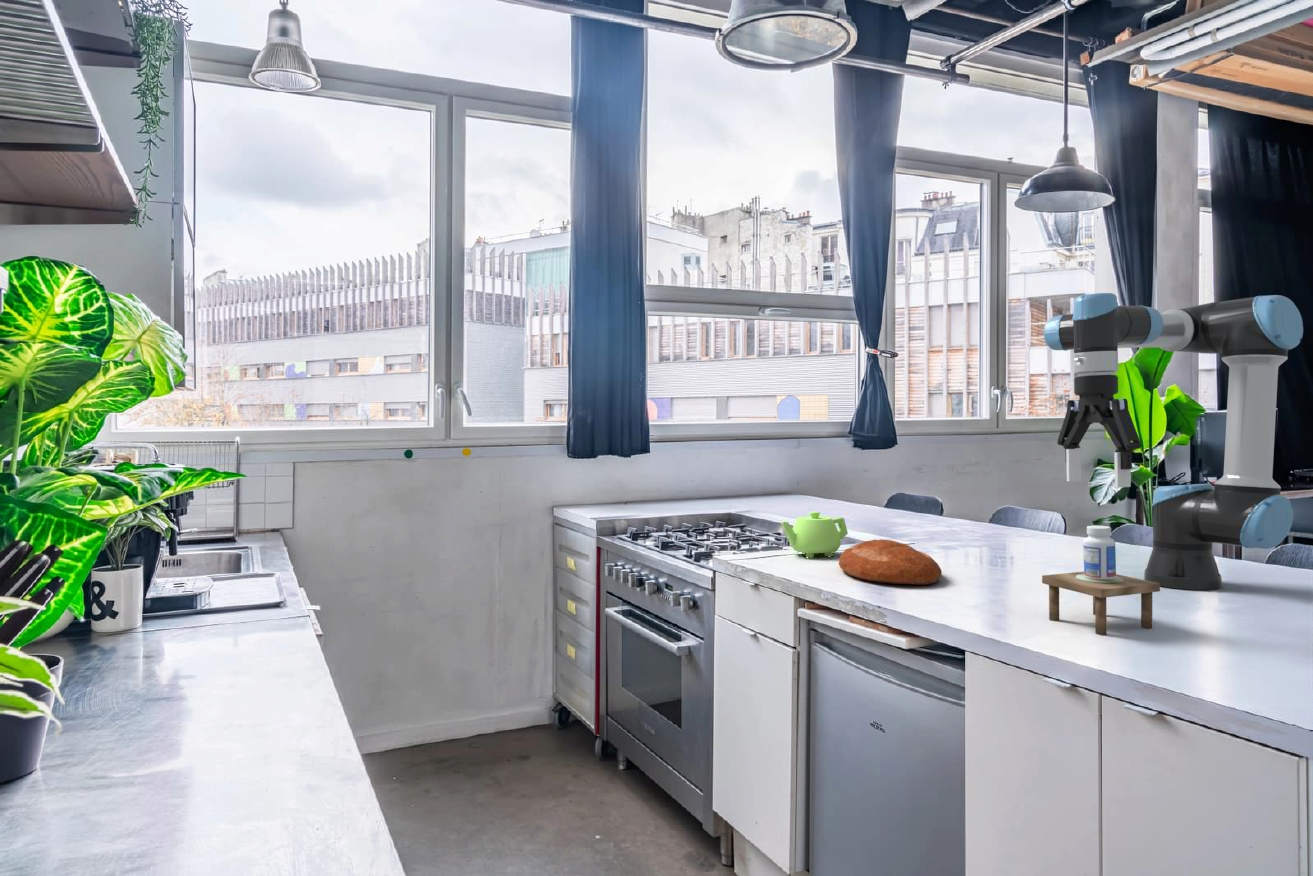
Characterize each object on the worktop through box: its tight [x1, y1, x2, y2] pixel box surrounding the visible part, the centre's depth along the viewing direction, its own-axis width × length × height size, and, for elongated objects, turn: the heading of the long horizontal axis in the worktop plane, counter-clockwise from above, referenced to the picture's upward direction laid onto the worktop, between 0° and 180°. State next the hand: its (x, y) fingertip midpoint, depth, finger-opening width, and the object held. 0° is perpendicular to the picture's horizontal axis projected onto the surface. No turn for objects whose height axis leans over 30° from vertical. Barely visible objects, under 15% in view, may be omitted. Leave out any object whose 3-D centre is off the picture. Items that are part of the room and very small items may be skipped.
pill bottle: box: [1082, 525, 1117, 580], centre depth 156 cm, size 6×5×10 cm
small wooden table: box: [1041, 571, 1161, 636], centre depth 156 cm, size 14×14×9 cm
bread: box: [838, 538, 942, 586], centre depth 206 cm, size 23×32×9 cm
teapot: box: [781, 511, 849, 559], centre depth 236 cm, size 20×13×13 cm
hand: (1097, 484), depth 159 cm, fingers open, 13 cm apart
